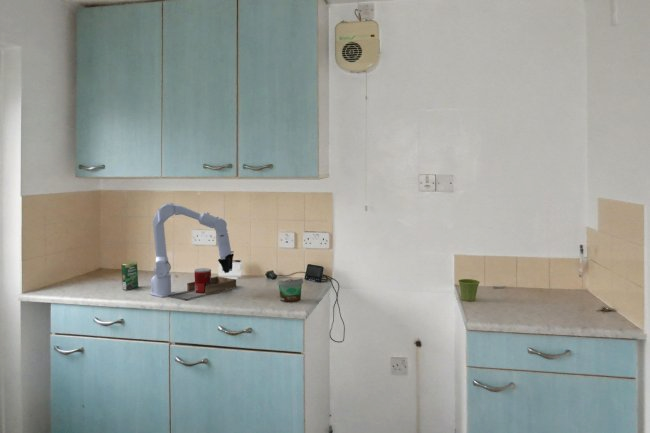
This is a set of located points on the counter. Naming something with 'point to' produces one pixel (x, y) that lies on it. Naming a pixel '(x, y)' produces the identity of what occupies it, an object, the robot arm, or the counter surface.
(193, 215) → the robot arm
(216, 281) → the wooden tray
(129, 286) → the coffee box
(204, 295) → the frame
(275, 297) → the counter surface
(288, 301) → the food container
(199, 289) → the canned food
